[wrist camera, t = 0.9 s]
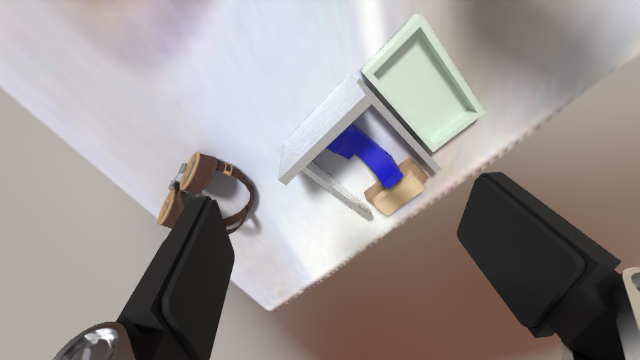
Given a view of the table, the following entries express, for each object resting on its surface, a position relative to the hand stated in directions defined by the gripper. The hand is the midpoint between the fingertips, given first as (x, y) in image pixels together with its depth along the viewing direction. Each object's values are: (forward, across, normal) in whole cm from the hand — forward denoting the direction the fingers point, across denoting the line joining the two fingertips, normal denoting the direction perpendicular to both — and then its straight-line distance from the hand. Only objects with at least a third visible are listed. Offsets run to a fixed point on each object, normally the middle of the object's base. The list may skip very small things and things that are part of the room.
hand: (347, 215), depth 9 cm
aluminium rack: (+29, -7, +12) cm, 32 cm away
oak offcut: (+27, -14, +19) cm, 36 cm away
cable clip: (+29, -7, +11) cm, 32 cm away
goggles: (+30, +18, +18) cm, 39 cm away
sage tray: (+28, -16, +3) cm, 32 cm away
